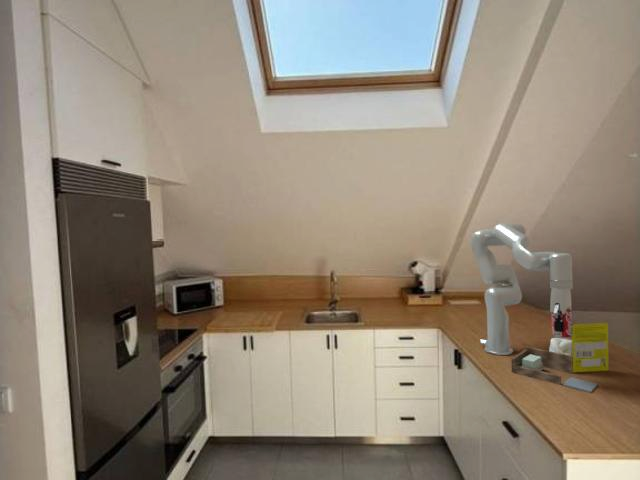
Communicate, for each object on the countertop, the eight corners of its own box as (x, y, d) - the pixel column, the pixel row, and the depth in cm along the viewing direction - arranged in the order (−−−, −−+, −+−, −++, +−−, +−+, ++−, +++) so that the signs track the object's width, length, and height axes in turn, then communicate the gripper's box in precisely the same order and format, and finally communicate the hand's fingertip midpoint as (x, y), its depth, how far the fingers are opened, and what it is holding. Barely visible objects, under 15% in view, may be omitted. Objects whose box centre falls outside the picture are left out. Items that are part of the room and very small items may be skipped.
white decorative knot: (575, 354, 178) (575, 335, 177) (581, 363, 167) (581, 343, 166) (547, 352, 182) (547, 333, 182) (552, 360, 171) (551, 341, 171)
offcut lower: (521, 372, 160) (521, 365, 160) (530, 367, 166) (529, 360, 166) (534, 376, 156) (534, 369, 156) (542, 370, 162) (542, 363, 162)
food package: (607, 370, 159) (607, 322, 158) (609, 371, 158) (609, 323, 157) (571, 371, 158) (570, 324, 157) (573, 373, 157) (572, 325, 156)
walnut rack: (511, 372, 160) (511, 355, 160) (526, 361, 171) (526, 346, 171) (560, 384, 147) (560, 366, 146) (573, 372, 157) (572, 355, 157)
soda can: (572, 336, 152) (571, 306, 152) (573, 340, 146) (572, 309, 146) (551, 334, 155) (551, 304, 156) (551, 338, 149) (551, 307, 149)
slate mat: (562, 385, 146) (562, 384, 146) (570, 378, 152) (570, 377, 152) (590, 392, 139) (590, 391, 139) (597, 385, 145) (597, 383, 145)
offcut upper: (522, 366, 160) (522, 358, 160) (530, 361, 165) (530, 354, 165) (533, 368, 156) (533, 361, 156) (541, 363, 161) (541, 356, 161)
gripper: (557, 281, 159) (559, 323, 159) (542, 286, 147) (544, 332, 148) (578, 282, 153) (580, 326, 154) (564, 288, 142) (566, 335, 142)
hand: (562, 329), depth 151 cm, fingers closed on soda can, 6 cm apart
